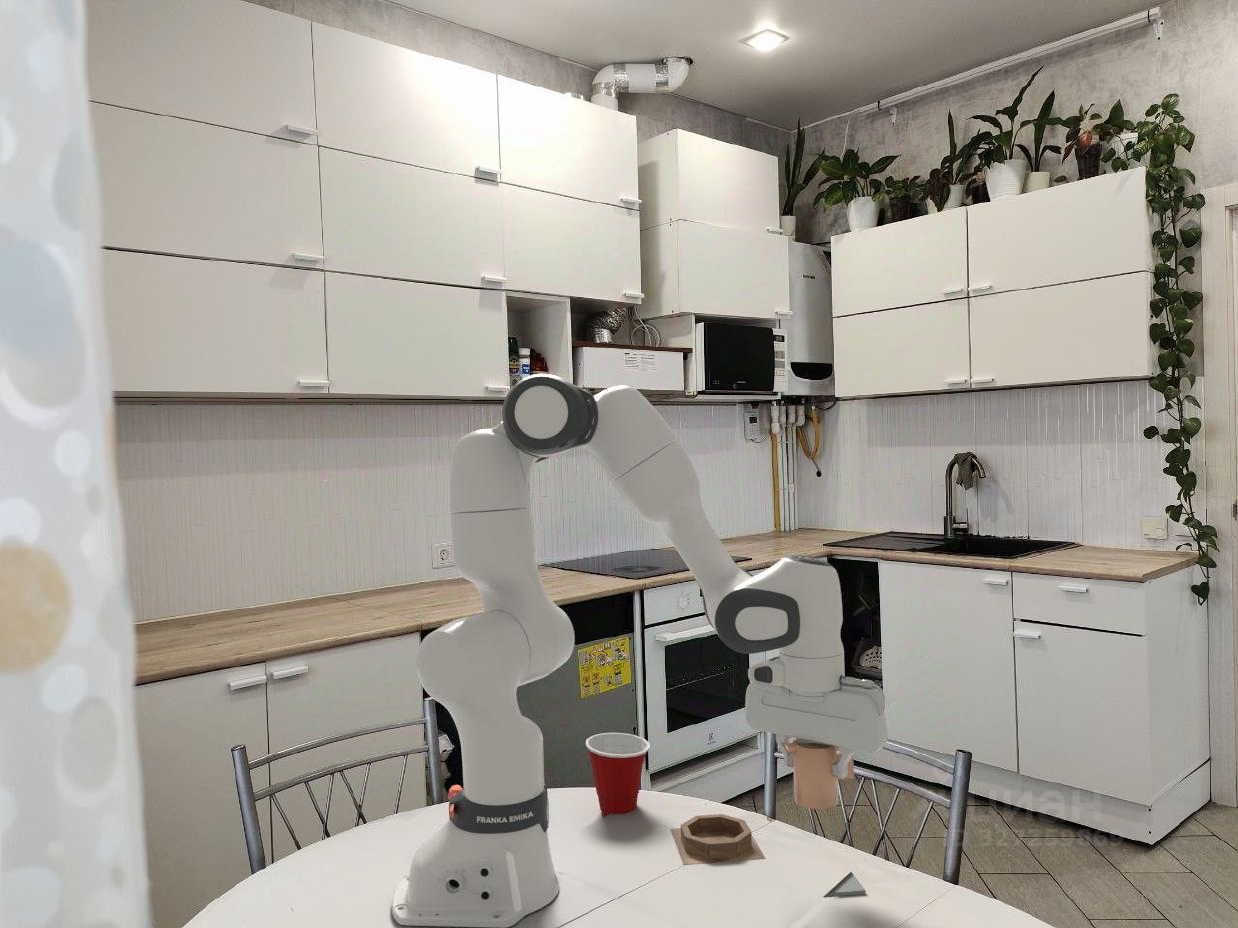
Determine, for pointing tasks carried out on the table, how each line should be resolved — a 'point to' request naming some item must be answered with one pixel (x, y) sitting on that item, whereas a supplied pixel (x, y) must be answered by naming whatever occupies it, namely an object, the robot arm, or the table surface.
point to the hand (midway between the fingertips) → (815, 770)
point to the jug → (816, 773)
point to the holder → (715, 840)
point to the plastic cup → (617, 770)
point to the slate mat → (847, 887)
